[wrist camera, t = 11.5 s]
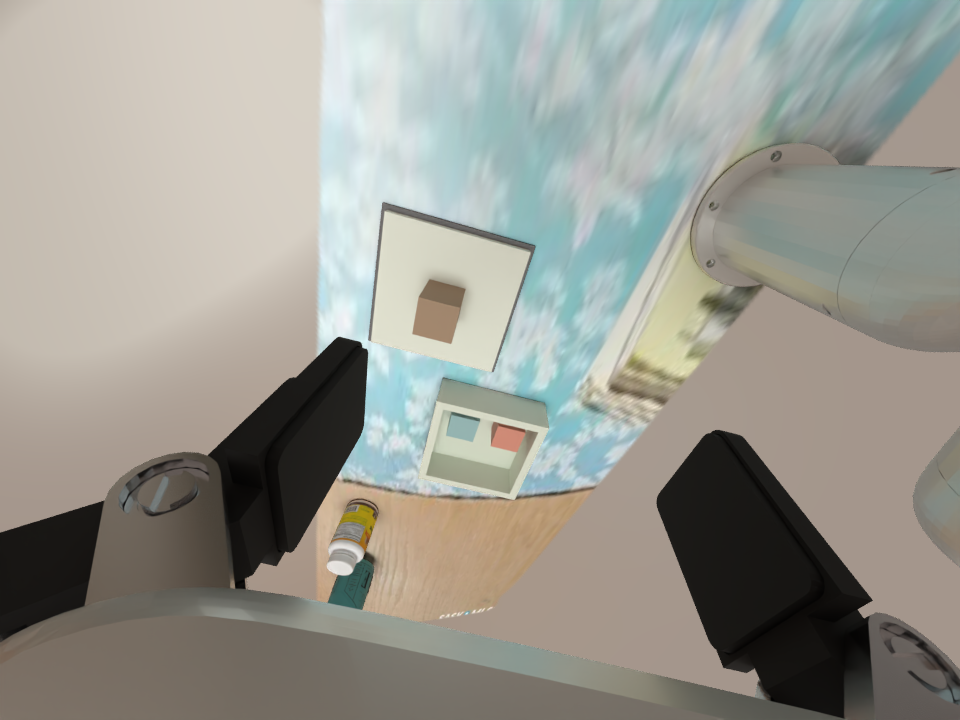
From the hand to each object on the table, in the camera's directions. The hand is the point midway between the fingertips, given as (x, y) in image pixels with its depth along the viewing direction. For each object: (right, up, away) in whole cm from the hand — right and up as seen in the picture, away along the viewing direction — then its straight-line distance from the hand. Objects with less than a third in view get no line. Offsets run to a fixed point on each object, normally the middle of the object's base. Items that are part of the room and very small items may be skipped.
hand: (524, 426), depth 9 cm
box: (-1, -8, +39) cm, 40 cm away
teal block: (-3, -5, +37) cm, 38 cm away
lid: (-5, +9, +29) cm, 31 cm away
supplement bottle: (-22, -24, +51) cm, 60 cm away
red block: (+3, -7, +38) cm, 38 cm away
